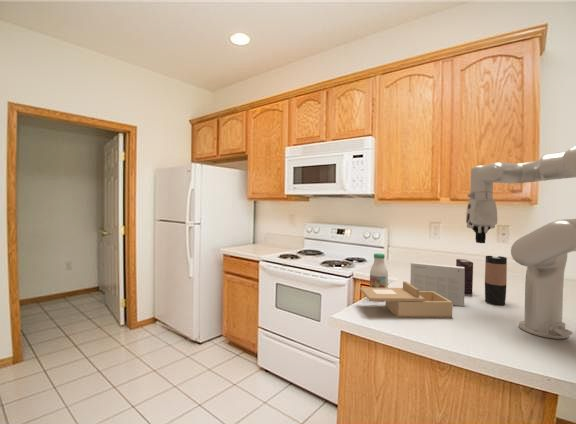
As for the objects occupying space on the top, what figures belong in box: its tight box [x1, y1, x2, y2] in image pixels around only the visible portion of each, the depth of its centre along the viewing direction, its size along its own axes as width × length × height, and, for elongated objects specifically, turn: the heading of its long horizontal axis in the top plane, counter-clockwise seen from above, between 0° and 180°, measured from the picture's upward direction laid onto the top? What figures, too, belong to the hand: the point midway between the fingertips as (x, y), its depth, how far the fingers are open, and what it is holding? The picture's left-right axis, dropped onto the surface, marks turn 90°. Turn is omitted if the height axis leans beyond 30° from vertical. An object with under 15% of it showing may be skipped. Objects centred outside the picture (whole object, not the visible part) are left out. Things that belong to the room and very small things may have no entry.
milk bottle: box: [369, 253, 389, 288], centre depth 131 cm, size 8×8×20 cm
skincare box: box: [409, 261, 465, 307], centre depth 130 cm, size 21×5×16 cm, turn 57°
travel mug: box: [484, 255, 508, 307], centre depth 127 cm, size 8×8×20 cm
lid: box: [359, 280, 425, 302], centre depth 115 cm, size 14×20×4 cm
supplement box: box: [455, 258, 474, 297], centre depth 141 cm, size 9×5×16 cm, turn 168°
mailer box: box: [384, 291, 454, 319], centre depth 116 cm, size 14×20×6 cm
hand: (480, 242), depth 118 cm, fingers closed
